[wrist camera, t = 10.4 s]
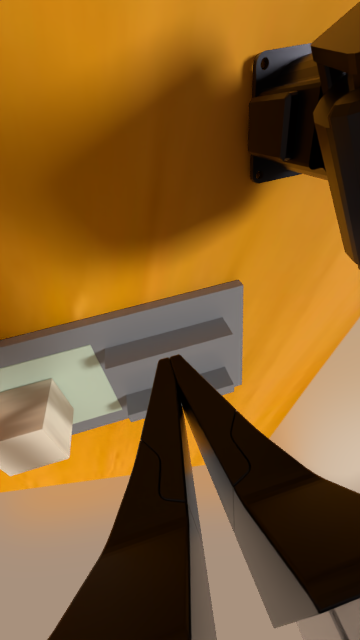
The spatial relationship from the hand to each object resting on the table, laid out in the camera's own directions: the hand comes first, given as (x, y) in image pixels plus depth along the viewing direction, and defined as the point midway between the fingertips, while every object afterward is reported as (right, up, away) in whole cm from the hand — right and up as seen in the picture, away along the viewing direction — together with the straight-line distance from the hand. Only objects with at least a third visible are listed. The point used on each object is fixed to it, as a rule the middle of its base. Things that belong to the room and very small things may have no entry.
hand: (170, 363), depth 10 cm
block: (-13, -6, +15) cm, 21 cm away
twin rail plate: (-5, -3, +16) cm, 17 cm away
